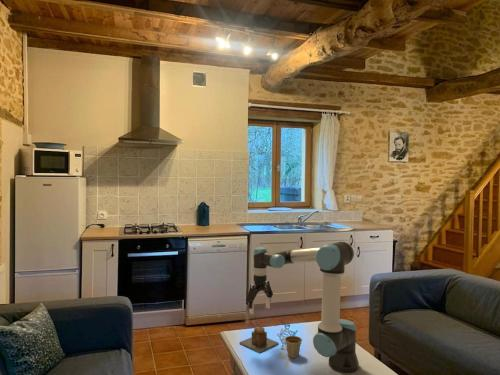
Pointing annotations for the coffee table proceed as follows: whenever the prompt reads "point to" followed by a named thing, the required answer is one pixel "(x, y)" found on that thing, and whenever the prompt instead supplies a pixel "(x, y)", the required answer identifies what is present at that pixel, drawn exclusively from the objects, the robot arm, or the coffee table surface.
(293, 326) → the coffee table surface
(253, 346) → the post plate
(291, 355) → the flower pot
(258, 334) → the knob
